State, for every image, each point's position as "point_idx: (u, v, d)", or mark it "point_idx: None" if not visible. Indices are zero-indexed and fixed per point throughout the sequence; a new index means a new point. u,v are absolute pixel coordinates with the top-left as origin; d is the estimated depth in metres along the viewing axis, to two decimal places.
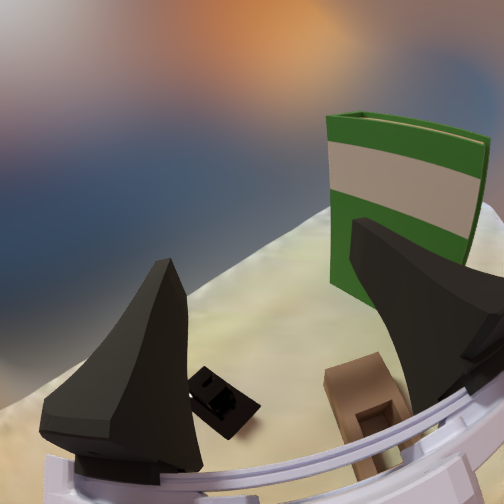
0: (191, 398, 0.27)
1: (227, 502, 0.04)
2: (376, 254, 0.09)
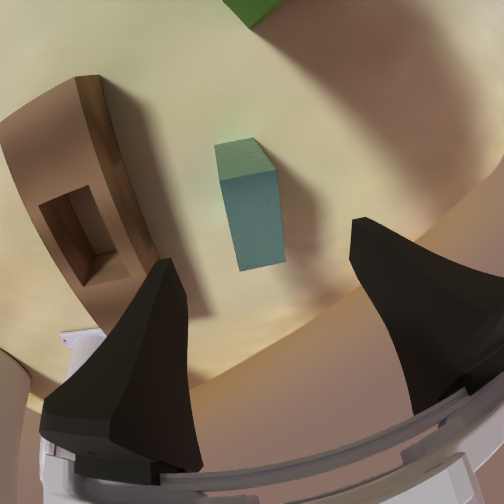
0: None
1: (227, 502, 0.04)
2: (376, 254, 0.09)
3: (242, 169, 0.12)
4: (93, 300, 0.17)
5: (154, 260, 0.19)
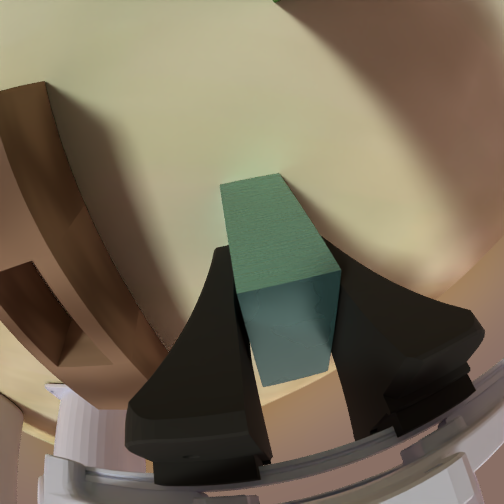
0: None
1: (227, 502, 0.04)
2: None
3: (276, 262, 0.07)
4: (72, 379, 0.12)
5: (143, 333, 0.14)
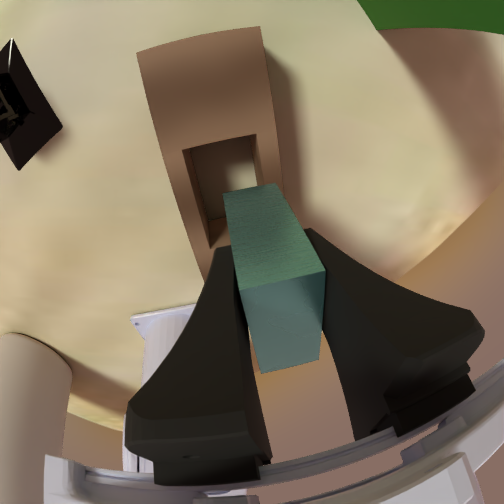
0: None
1: (227, 502, 0.04)
2: None
3: (271, 263, 0.08)
4: None
5: None
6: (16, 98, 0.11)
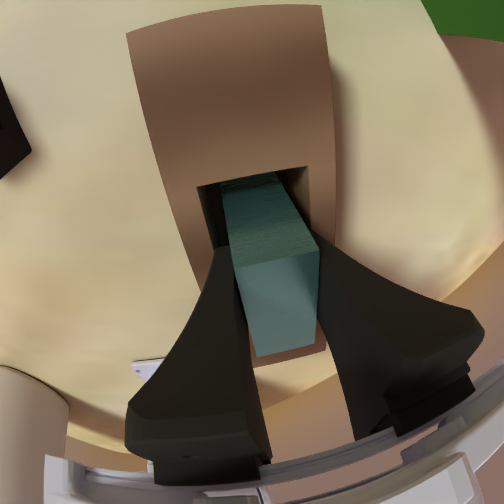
0: None
1: (227, 502, 0.04)
2: None
3: (266, 244, 0.08)
4: None
5: None
6: None
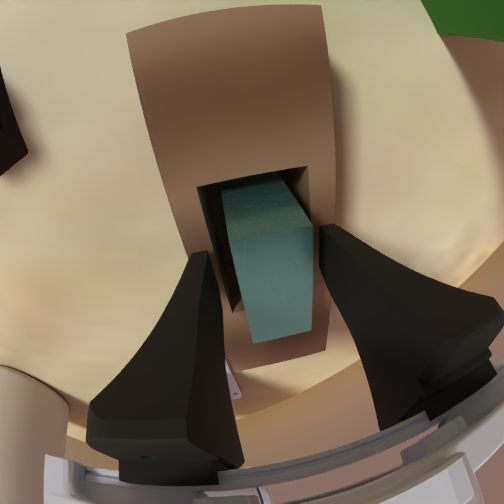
0: None
1: (227, 502, 0.04)
2: (340, 263, 0.09)
3: (261, 221, 0.08)
4: (239, 328, 0.14)
5: None
6: None
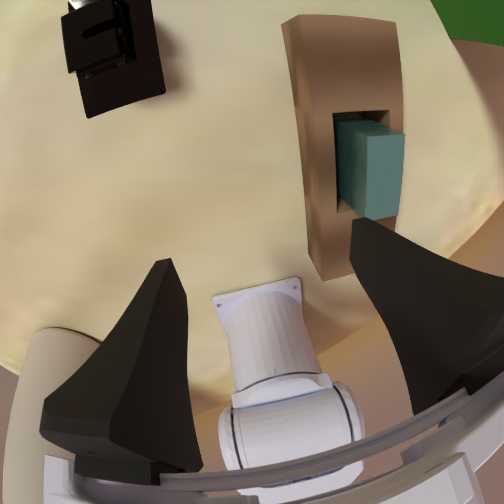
0: None
1: (227, 502, 0.04)
2: (376, 254, 0.09)
3: (376, 131, 0.12)
4: (338, 229, 0.18)
5: None
6: (127, 37, 0.11)
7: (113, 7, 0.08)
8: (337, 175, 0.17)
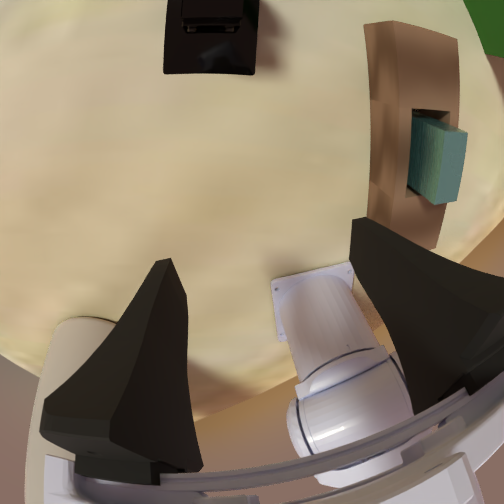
0: None
1: (227, 502, 0.04)
2: (376, 254, 0.09)
3: (447, 128, 0.12)
4: (403, 213, 0.18)
5: None
6: None
7: None
8: None
